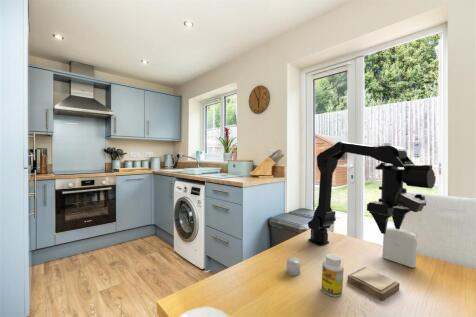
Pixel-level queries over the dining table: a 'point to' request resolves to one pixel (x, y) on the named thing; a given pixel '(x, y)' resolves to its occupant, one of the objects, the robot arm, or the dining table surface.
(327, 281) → the supplement bottle
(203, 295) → the dining table surface
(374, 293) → the tan flat square block
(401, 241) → the photo printer
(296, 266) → the white rounded knob
